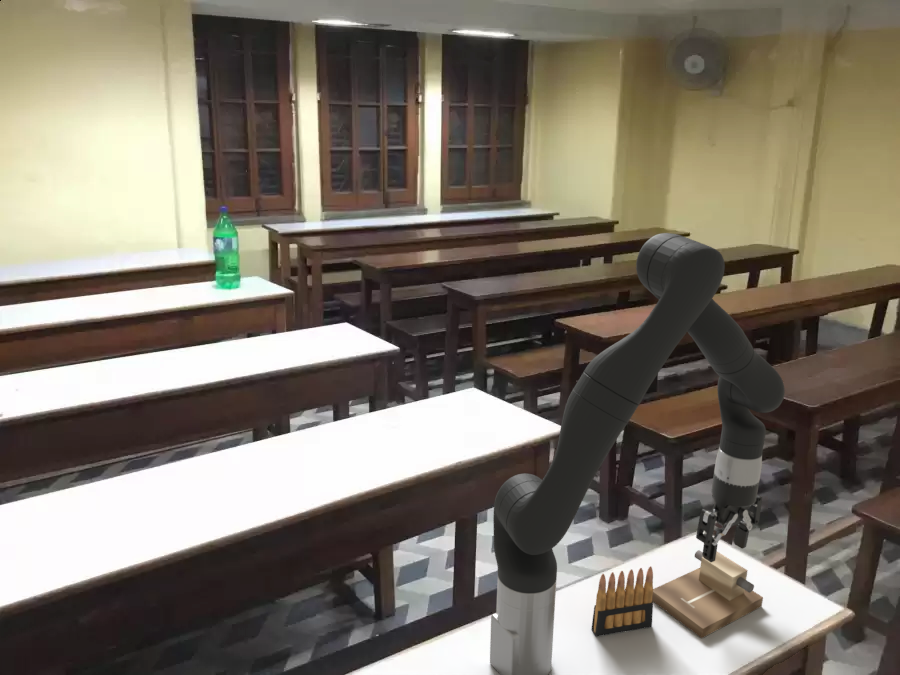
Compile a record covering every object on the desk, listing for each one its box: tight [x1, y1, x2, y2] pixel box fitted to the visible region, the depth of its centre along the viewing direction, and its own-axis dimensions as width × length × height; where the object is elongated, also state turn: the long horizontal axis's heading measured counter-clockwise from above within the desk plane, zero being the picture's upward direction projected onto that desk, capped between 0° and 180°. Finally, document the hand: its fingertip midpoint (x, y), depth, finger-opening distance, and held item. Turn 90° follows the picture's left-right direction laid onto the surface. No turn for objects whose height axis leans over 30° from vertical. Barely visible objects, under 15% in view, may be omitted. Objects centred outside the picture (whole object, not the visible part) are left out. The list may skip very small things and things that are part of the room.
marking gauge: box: [694, 549, 755, 601], centre depth 136 cm, size 4×12×5 cm, turn 31°
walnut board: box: [652, 567, 764, 639], centre depth 135 cm, size 16×12×2 cm
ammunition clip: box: [591, 565, 654, 637], centre depth 127 cm, size 11×2×12 cm, turn 104°
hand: (724, 552), depth 134 cm, fingers open, 8 cm apart
